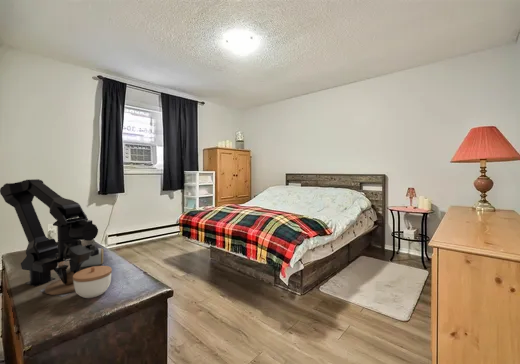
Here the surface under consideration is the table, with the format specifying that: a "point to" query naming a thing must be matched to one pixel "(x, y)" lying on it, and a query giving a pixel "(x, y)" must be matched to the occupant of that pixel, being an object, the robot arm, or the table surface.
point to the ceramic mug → (94, 259)
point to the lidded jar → (92, 281)
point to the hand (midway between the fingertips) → (69, 281)
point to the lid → (61, 286)
